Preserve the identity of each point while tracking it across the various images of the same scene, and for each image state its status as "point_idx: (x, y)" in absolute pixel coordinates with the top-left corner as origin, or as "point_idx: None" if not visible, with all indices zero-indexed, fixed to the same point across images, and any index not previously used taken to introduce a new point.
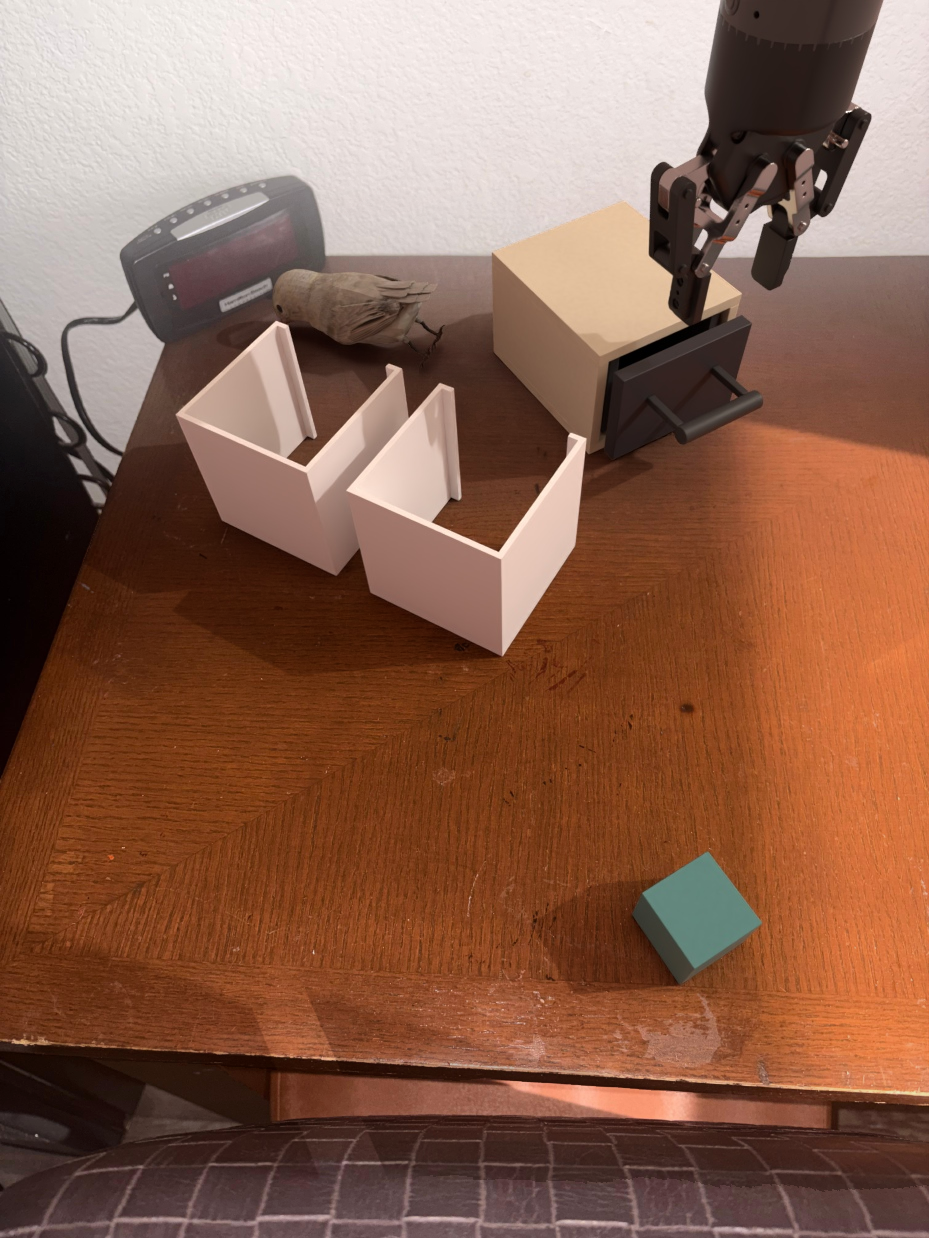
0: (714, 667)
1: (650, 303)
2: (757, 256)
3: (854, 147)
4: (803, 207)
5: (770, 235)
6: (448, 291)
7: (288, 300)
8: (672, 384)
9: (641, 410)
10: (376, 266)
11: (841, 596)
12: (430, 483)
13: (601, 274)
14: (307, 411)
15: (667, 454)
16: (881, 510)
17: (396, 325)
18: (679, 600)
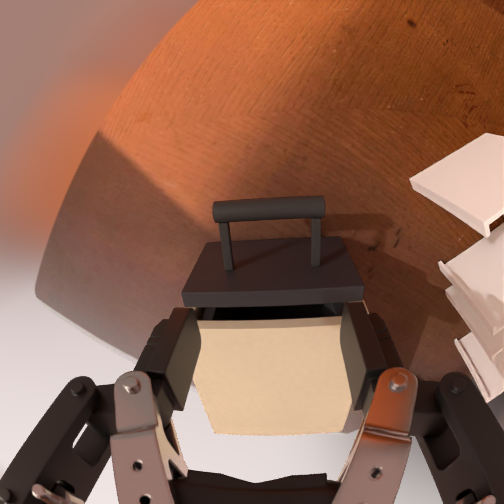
0: (379, 30)
1: (273, 358)
2: (193, 365)
3: (22, 466)
4: (137, 433)
5: (179, 391)
6: None
7: None
8: (287, 269)
9: (322, 259)
10: None
11: (246, 26)
12: (477, 272)
13: (288, 397)
14: (464, 353)
15: (284, 222)
16: (155, 86)
17: None
18: (371, 86)
